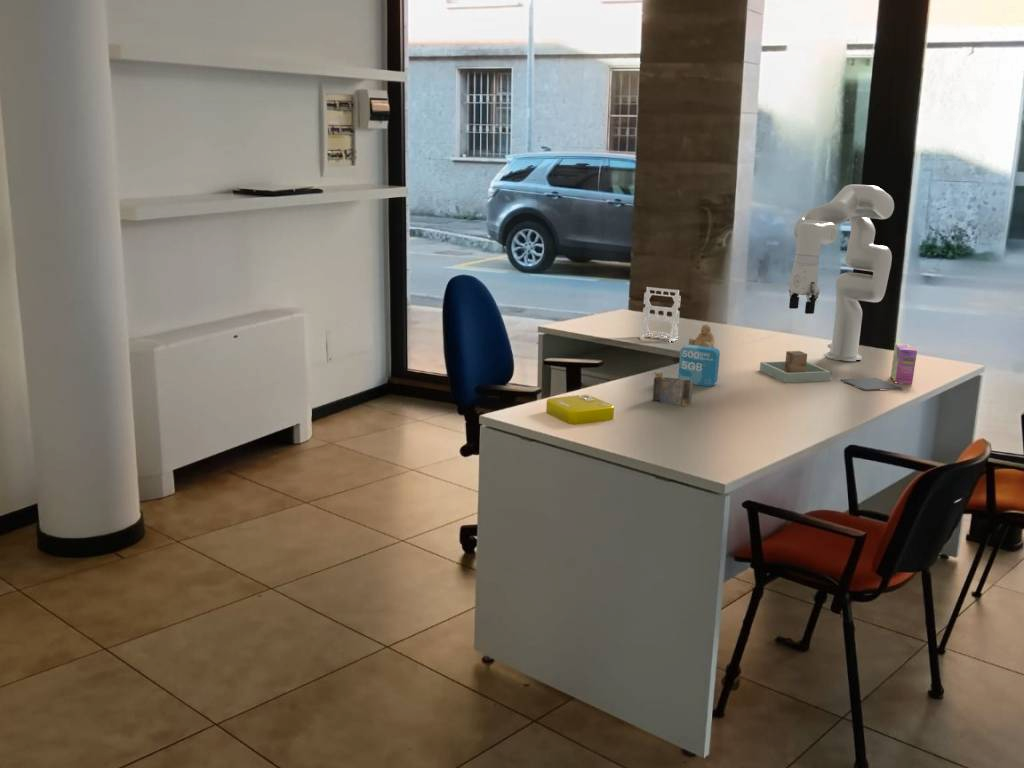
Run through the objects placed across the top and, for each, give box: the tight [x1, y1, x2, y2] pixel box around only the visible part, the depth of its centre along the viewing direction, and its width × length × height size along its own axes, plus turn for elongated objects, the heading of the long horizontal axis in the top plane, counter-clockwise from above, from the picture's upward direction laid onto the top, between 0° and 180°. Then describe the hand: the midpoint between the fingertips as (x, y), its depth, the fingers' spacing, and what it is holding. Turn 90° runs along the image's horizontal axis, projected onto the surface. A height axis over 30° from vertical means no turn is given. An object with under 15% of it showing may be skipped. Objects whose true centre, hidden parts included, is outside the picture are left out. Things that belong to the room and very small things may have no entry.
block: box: [784, 350, 808, 373], centre depth 358 cm, size 5×5×8 cm
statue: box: [687, 323, 715, 348], centre depth 379 cm, size 12×14×10 cm
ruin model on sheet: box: [652, 371, 694, 407], centre depth 317 cm, size 11×3×10 cm, turn 69°
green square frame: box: [759, 360, 832, 383], centre depth 359 cm, size 17×17×3 cm
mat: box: [839, 377, 903, 391], centre depth 350 cm, size 14×14×1 cm
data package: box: [677, 344, 721, 387], centre depth 342 cm, size 12×4×12 cm, turn 65°
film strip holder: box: [640, 286, 682, 342], centre depth 410 cm, size 14×14×20 cm
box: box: [890, 342, 918, 385], centre depth 356 cm, size 10×6×12 cm, turn 168°
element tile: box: [545, 394, 615, 426], centre depth 300 cm, size 15×15×5 cm
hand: (801, 310), depth 354 cm, fingers open, 9 cm apart
